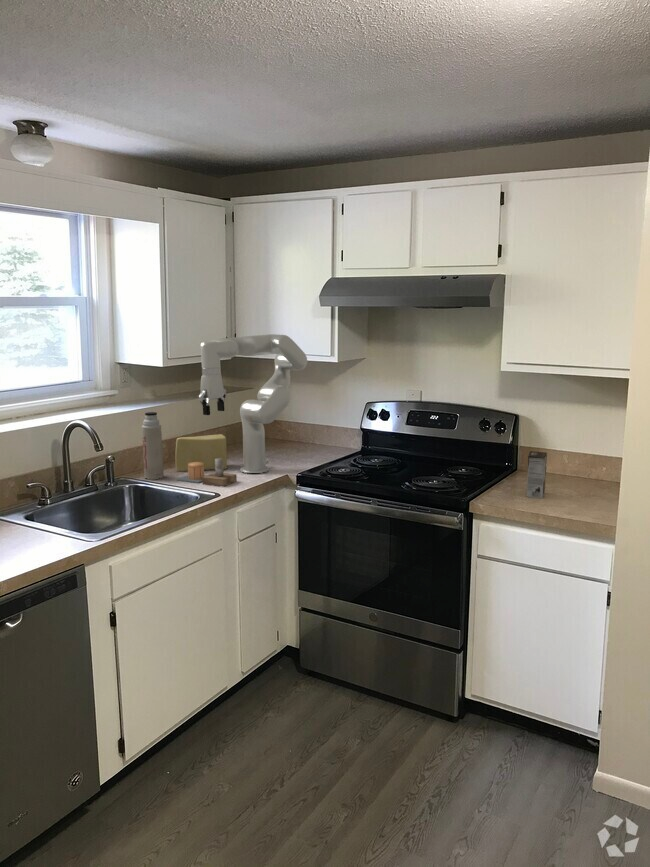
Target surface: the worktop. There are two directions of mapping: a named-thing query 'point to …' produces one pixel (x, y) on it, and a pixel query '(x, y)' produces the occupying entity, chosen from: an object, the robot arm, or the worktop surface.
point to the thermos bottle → (152, 447)
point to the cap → (195, 470)
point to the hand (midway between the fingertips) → (214, 412)
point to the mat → (190, 479)
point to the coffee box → (536, 474)
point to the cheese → (200, 451)
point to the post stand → (219, 475)
